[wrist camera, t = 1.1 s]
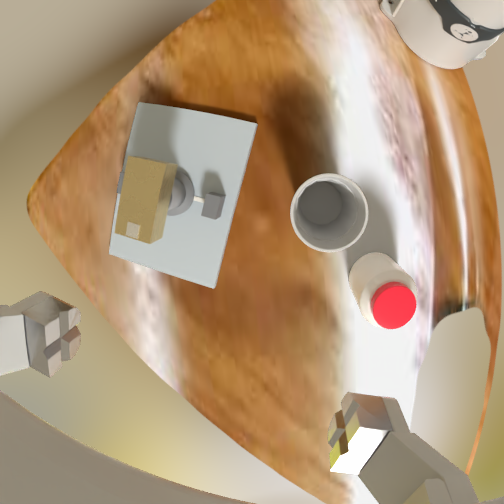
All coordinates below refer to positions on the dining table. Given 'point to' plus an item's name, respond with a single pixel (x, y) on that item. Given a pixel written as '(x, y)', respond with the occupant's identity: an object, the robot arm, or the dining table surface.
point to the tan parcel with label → (145, 198)
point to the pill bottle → (383, 291)
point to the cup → (329, 212)
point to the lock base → (189, 188)
